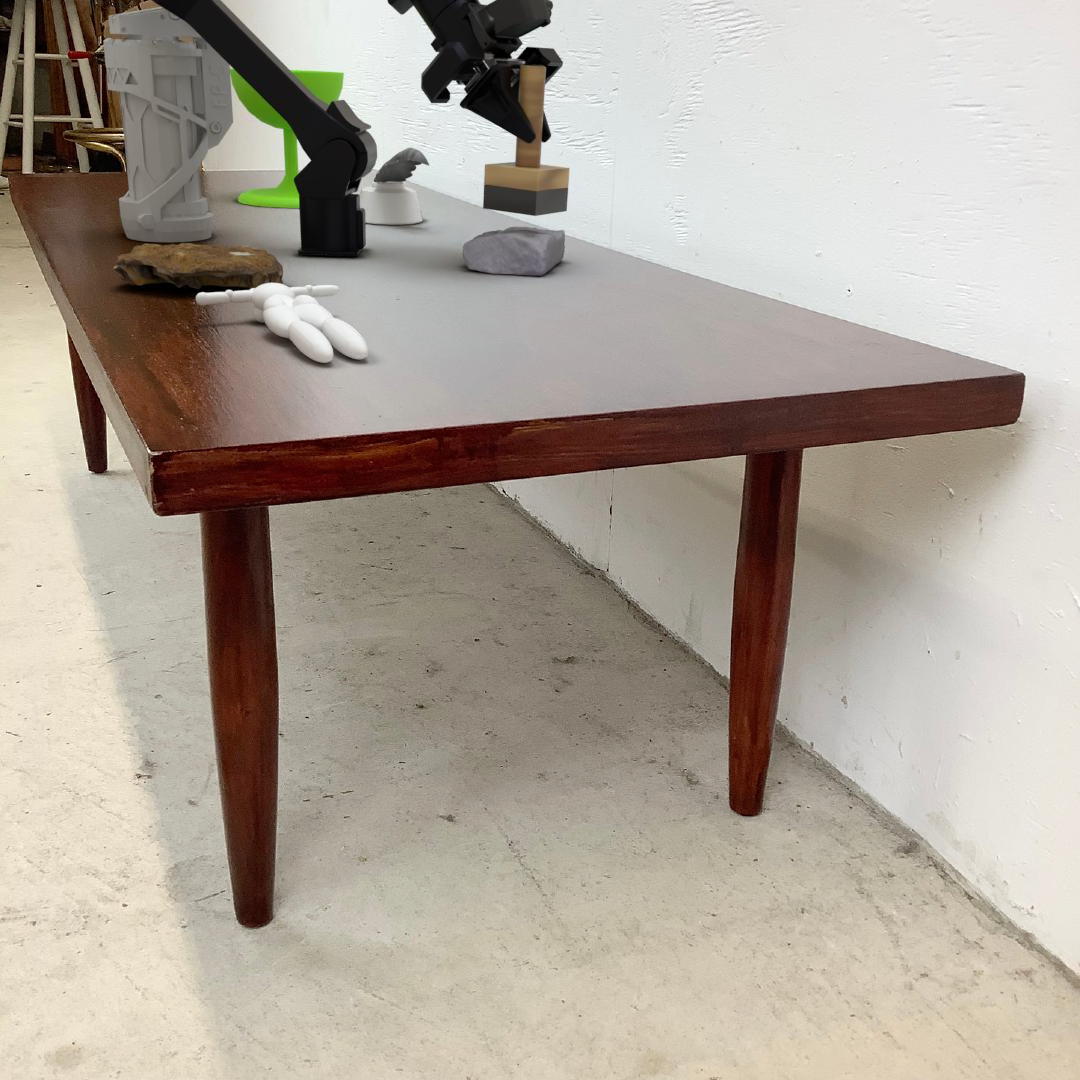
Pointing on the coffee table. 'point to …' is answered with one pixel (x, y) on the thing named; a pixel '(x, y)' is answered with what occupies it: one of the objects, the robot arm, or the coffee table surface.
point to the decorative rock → (198, 266)
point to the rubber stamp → (527, 162)
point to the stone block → (515, 251)
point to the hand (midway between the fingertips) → (540, 140)
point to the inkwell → (393, 191)
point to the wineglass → (284, 132)
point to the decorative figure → (297, 318)
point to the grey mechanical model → (166, 122)
